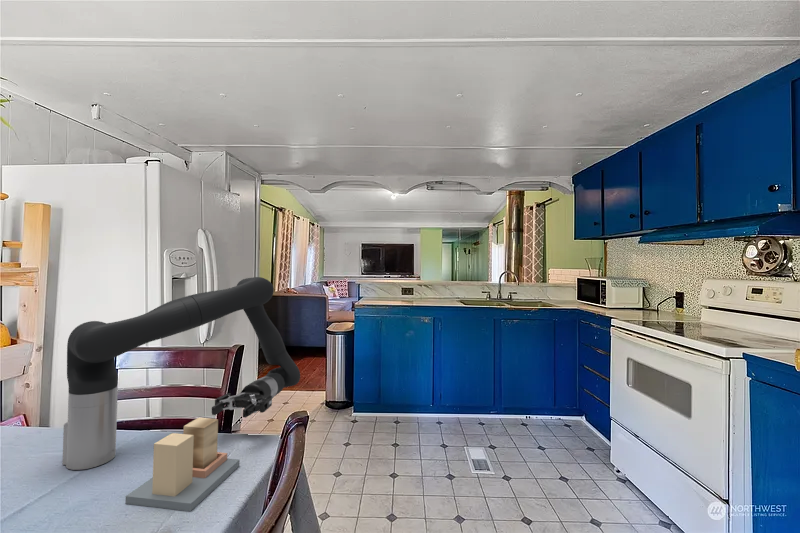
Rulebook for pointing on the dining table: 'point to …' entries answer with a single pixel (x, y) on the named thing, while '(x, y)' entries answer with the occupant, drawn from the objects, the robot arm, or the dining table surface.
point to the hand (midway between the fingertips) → (228, 412)
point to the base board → (186, 494)
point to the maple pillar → (203, 441)
